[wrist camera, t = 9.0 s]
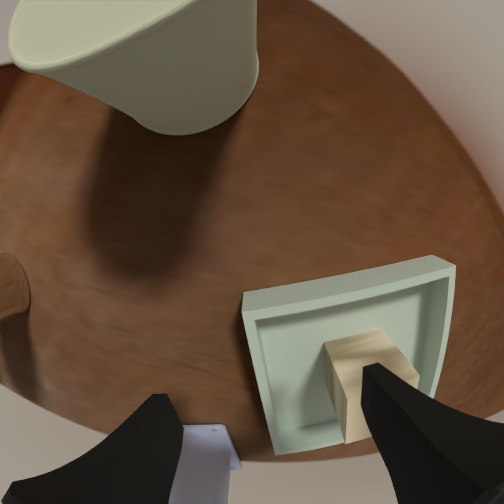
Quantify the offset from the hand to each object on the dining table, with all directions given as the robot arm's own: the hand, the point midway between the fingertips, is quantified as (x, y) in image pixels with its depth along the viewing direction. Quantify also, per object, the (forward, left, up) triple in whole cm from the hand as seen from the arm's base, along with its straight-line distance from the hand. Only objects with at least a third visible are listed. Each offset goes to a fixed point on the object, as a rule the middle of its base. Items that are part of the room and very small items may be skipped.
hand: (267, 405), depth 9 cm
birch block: (+6, -6, -9) cm, 12 cm away
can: (-2, +16, -10) cm, 19 cm away
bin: (+6, -6, -9) cm, 13 cm away
